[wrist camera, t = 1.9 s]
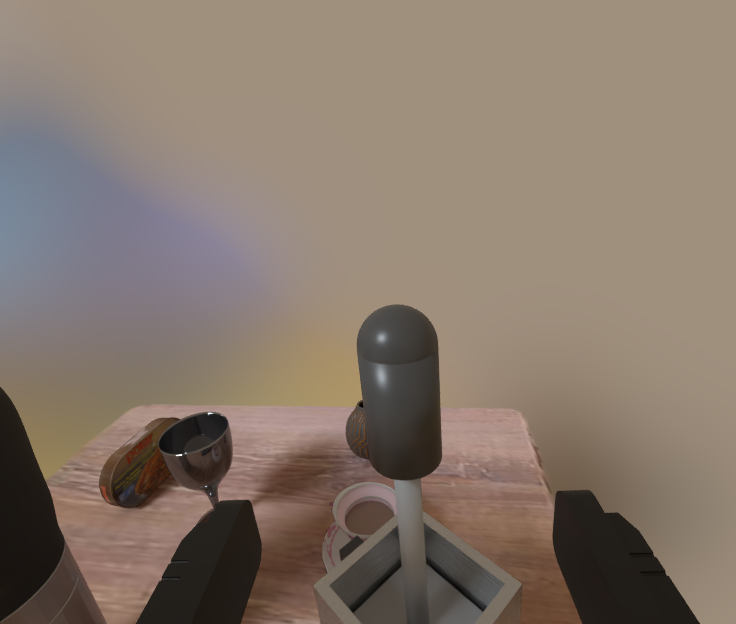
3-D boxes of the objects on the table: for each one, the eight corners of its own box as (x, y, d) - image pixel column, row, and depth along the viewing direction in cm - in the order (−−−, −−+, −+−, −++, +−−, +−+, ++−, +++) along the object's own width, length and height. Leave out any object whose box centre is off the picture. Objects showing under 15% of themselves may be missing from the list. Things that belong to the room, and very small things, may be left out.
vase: (358, 433, 69) (353, 388, 66) (397, 440, 67) (393, 394, 63) (341, 460, 63) (334, 413, 60) (382, 469, 61) (377, 420, 58)
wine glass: (222, 560, 49) (192, 461, 44) (176, 539, 53) (142, 445, 47) (264, 509, 56) (241, 418, 50) (220, 494, 59) (195, 407, 54)
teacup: (431, 517, 52) (429, 480, 50) (406, 611, 42) (402, 569, 40) (346, 498, 57) (340, 462, 54) (304, 579, 46) (295, 539, 44)
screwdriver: (342, 629, 30) (286, 314, 21) (414, 558, 34) (393, 276, 26) (424, 730, 24) (394, 359, 15) (497, 629, 29) (506, 299, 20)
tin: (124, 522, 56) (104, 474, 53) (106, 518, 57) (86, 470, 54) (195, 449, 70) (182, 407, 67) (180, 447, 70) (167, 405, 67)
